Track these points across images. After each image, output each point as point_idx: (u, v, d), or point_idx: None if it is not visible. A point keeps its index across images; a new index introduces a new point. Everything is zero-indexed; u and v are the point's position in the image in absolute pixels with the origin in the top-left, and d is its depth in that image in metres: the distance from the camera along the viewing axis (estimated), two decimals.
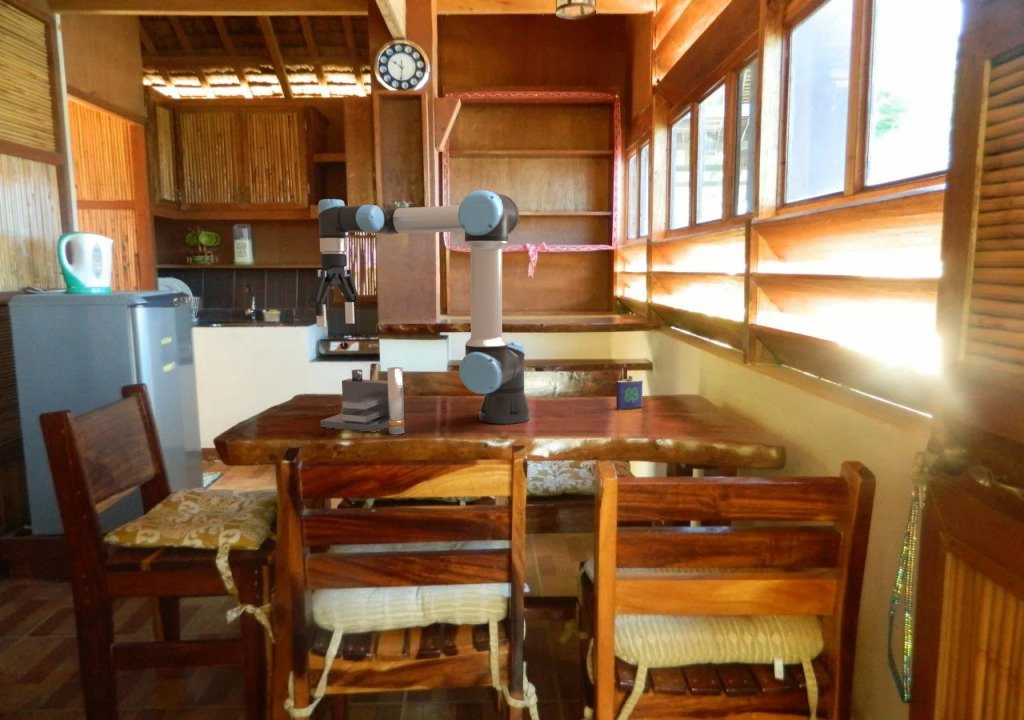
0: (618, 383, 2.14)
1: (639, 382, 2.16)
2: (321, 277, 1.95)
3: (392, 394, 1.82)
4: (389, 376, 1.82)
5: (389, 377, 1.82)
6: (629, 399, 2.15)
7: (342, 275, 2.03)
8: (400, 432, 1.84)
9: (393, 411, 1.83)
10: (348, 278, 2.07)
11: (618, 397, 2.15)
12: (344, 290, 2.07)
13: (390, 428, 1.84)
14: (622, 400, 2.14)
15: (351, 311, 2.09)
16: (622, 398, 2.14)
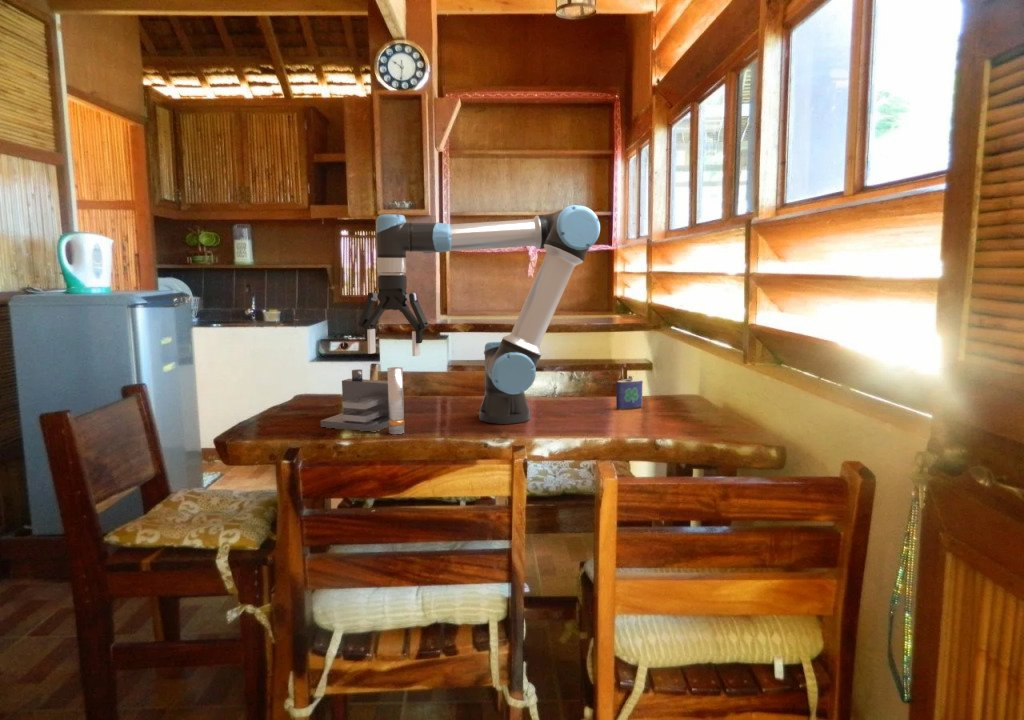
0: (618, 383, 2.14)
1: (639, 383, 2.16)
2: None
3: (392, 394, 1.82)
4: (389, 376, 1.82)
5: (389, 377, 1.82)
6: (629, 400, 2.15)
7: (393, 299, 1.78)
8: (400, 432, 1.84)
9: (393, 411, 1.83)
10: None
11: (618, 397, 2.15)
12: None
13: (390, 428, 1.84)
14: (622, 400, 2.14)
15: None
16: (622, 398, 2.14)
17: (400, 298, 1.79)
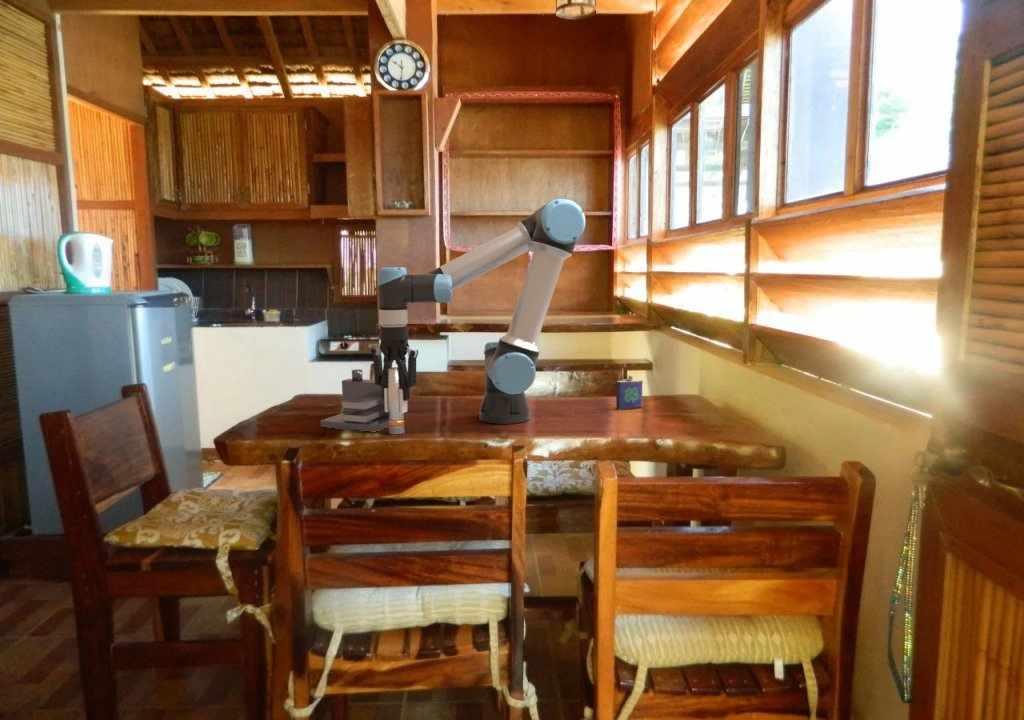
0: (618, 383, 2.14)
1: (639, 382, 2.16)
2: None
3: (392, 394, 1.82)
4: (389, 376, 1.82)
5: (389, 377, 1.82)
6: (629, 399, 2.15)
7: (394, 350, 1.80)
8: (400, 432, 1.84)
9: (393, 411, 1.83)
10: None
11: (618, 397, 2.15)
12: None
13: (390, 428, 1.84)
14: (622, 400, 2.14)
15: None
16: (622, 398, 2.14)
17: (401, 349, 1.80)
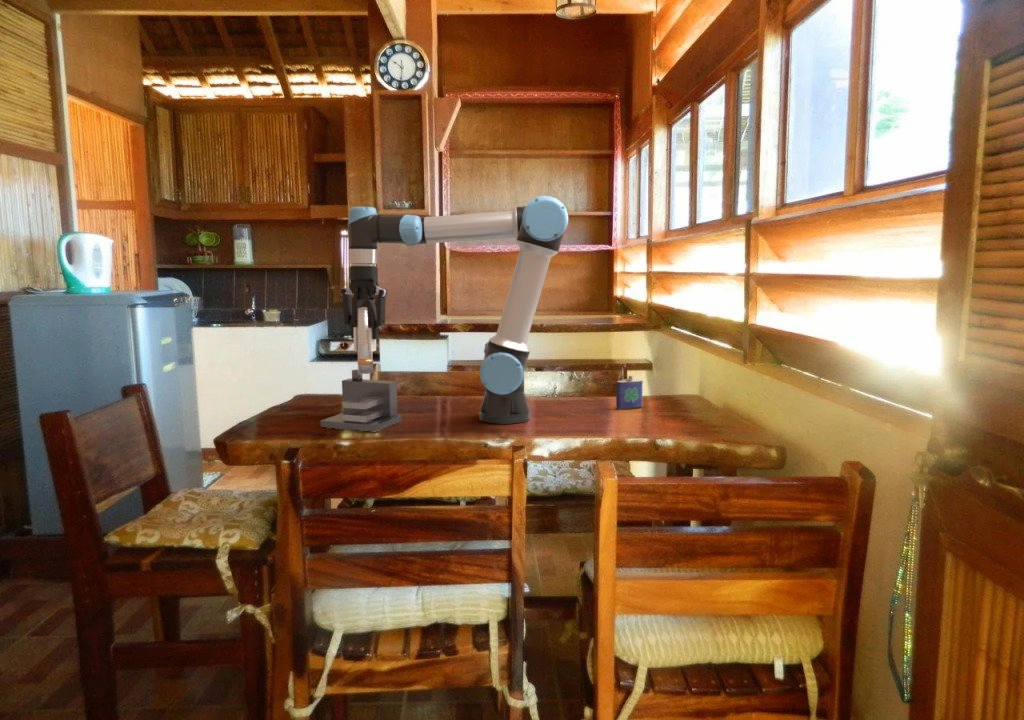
0: (618, 383, 2.14)
1: (639, 382, 2.16)
2: None
3: (361, 333, 1.86)
4: (358, 315, 1.85)
5: (358, 316, 1.85)
6: (629, 399, 2.15)
7: (364, 289, 1.84)
8: (369, 371, 1.88)
9: (362, 349, 1.86)
10: None
11: (618, 397, 2.15)
12: None
13: (359, 367, 1.88)
14: (622, 400, 2.14)
15: None
16: (622, 398, 2.14)
17: (370, 288, 1.84)
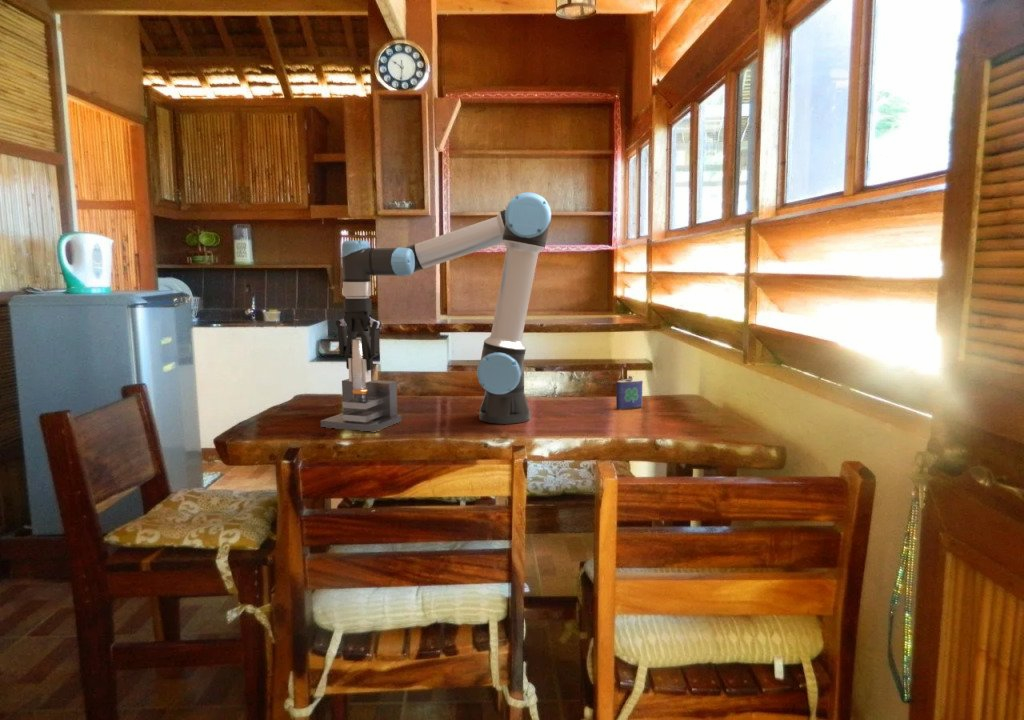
0: (618, 383, 2.14)
1: (639, 383, 2.16)
2: None
3: (356, 364, 1.89)
4: (353, 346, 1.88)
5: (353, 347, 1.88)
6: (629, 400, 2.15)
7: (358, 321, 1.87)
8: (364, 401, 1.90)
9: (356, 380, 1.89)
10: None
11: (618, 397, 2.15)
12: None
13: (354, 397, 1.90)
14: (622, 400, 2.14)
15: None
16: (622, 398, 2.14)
17: (364, 320, 1.87)
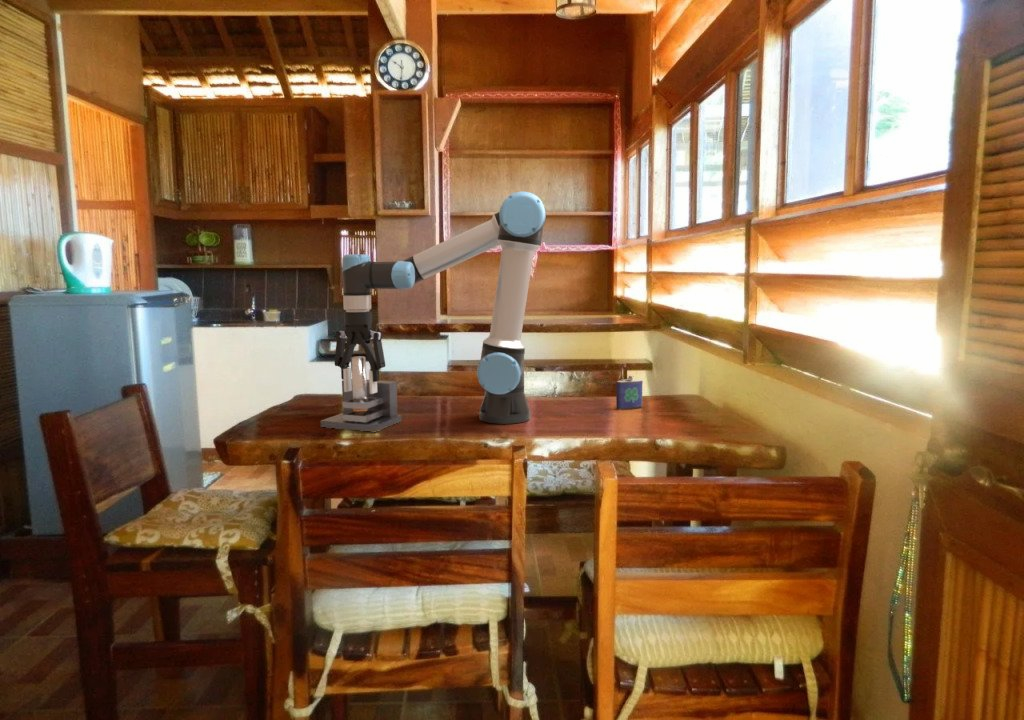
0: (618, 383, 2.14)
1: (639, 382, 2.16)
2: None
3: (356, 382, 1.89)
4: (352, 365, 1.89)
5: (352, 365, 1.89)
6: (629, 399, 2.15)
7: (358, 335, 1.87)
8: None
9: (357, 398, 1.90)
10: None
11: (618, 397, 2.15)
12: None
13: None
14: (622, 400, 2.14)
15: None
16: (622, 398, 2.14)
17: (365, 333, 1.87)
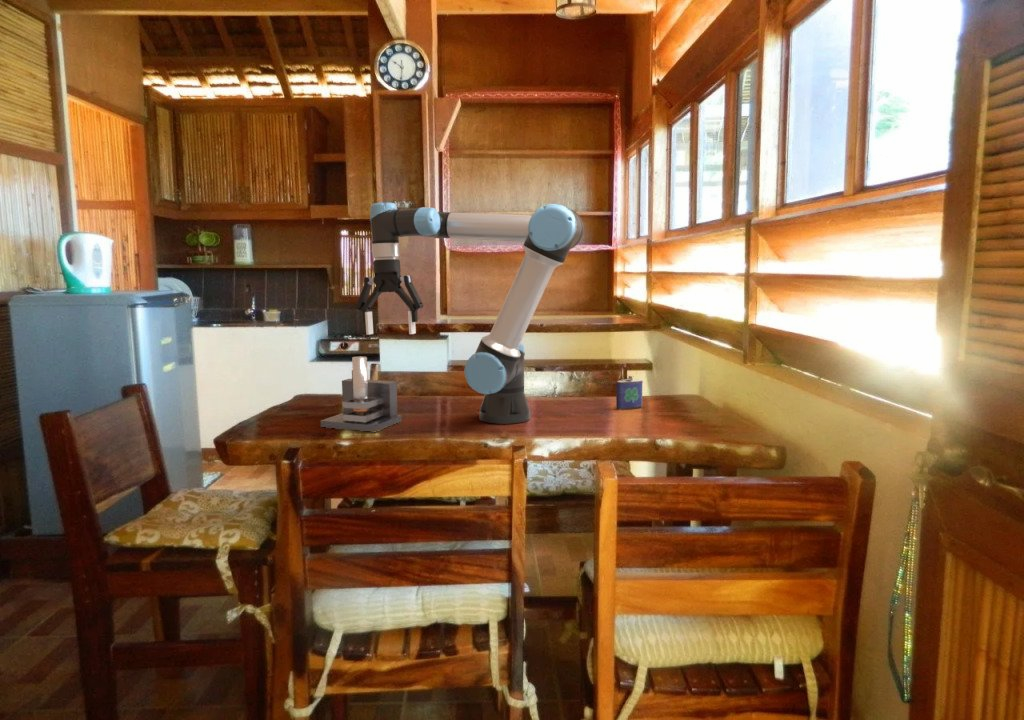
0: (618, 383, 2.14)
1: (639, 383, 2.16)
2: None
3: (357, 382, 1.89)
4: (354, 365, 1.89)
5: (354, 365, 1.89)
6: (629, 400, 2.15)
7: (388, 282, 1.91)
8: None
9: (357, 398, 1.90)
10: None
11: (618, 397, 2.15)
12: None
13: None
14: (622, 400, 2.14)
15: None
16: (622, 398, 2.14)
17: (395, 280, 1.91)
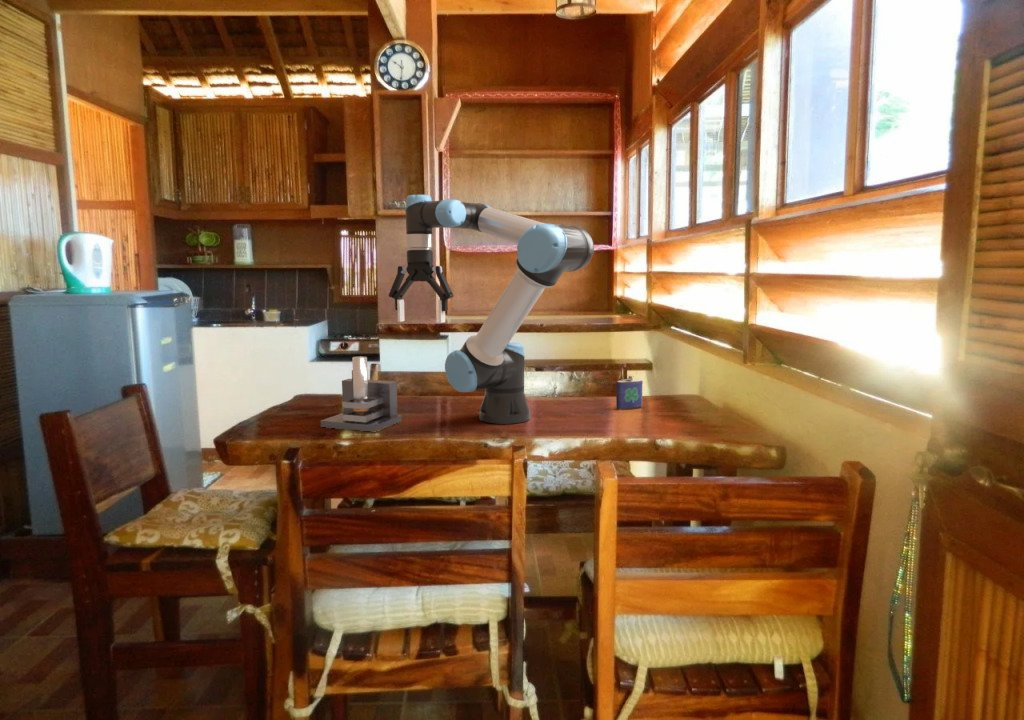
0: (618, 383, 2.14)
1: (639, 383, 2.16)
2: None
3: (357, 382, 1.89)
4: (354, 365, 1.89)
5: (354, 365, 1.89)
6: (629, 400, 2.15)
7: (421, 271, 1.98)
8: None
9: (357, 398, 1.90)
10: None
11: (618, 397, 2.15)
12: None
13: None
14: (622, 400, 2.14)
15: None
16: (622, 398, 2.14)
17: (427, 270, 1.98)
